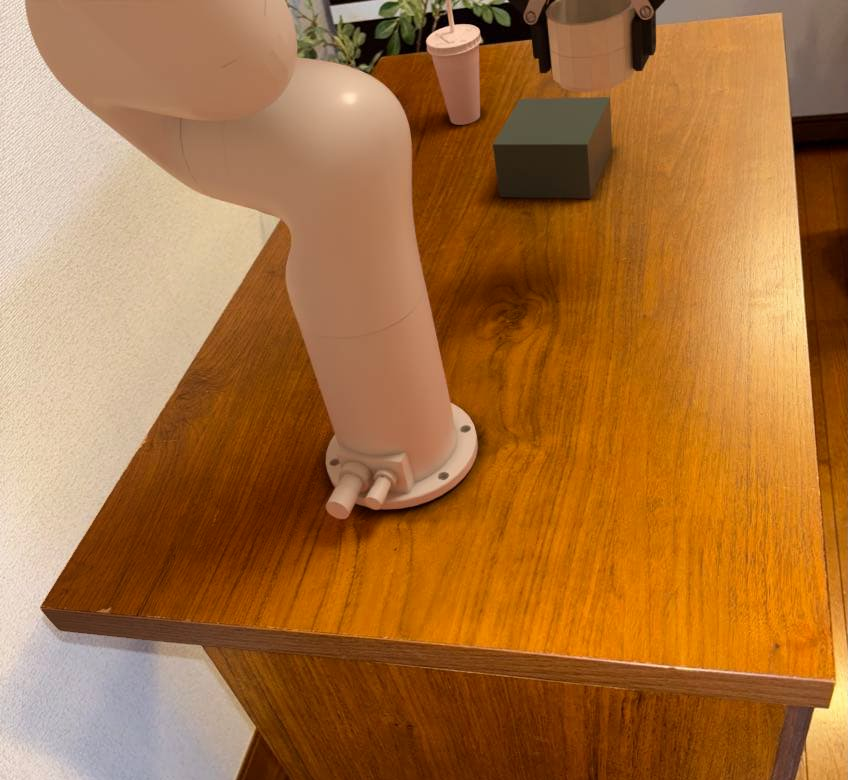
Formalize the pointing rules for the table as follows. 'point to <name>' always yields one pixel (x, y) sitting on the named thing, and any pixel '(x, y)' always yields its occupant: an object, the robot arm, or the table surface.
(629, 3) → the cup
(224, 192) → the robot arm
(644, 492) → the table surface
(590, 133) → the stand
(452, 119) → the smoothie
